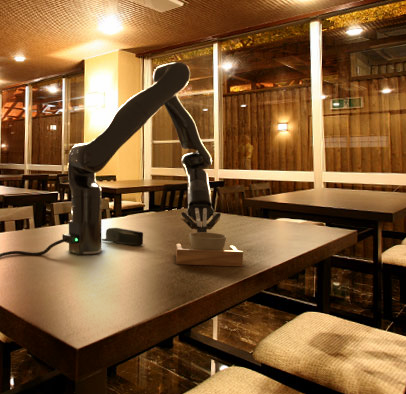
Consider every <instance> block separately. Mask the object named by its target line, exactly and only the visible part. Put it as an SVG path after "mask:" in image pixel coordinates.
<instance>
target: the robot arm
mask: <svg viewBox="0 0 406 394" xmlns="http://www.w3.org/2000/svg"><path fill="white" fill-rule="evenodd" d="M190 77H191V71H190V68H189V66H188V65H187V64H185V63H184V62H182V61H181V62H180V61H174V62H170V63H169V62H168V63H166V64H162V65H159V66H157V67H156V69H154V71H153V75H152V81H153V84H152V85H151V86H149V87H147V88H145V89H144V90H141V91H140V92H138V93H136V94H134V95H133V96H132V97H130V98H129V99H127V100H126V102H125V103H124V104H122V105H121V106H120V107H119V108H118V109H117V110H116V111H115V112H114V114H113V115H112V117H111V120H110V122H109V124H108V126H107V127H106V129H105V130H103V132H101V133H100V134H99V135H98V136H96V138H94V139H92V140H91V141H89V142H84V143H78V144H75V145H74V146H73V147H72V148H71V149H70V150H69V153H68V156H67V172H68V175H67V177H68V186H69V188H70V196H71V197H70V199H71V204H70V205H71V208H70V211H71V213H70V214H71V216H70V217H71V220H69V221H68V233H62V239H59V240H57V241H54V242H52V243H51V244H49V245H48V246H47V247H46V248H45V249H44V250H42V251H37V252H33V251H32V252H30V251H25V250H23V251H22V250H10V251H5V252H1V253H0V258H1V257H5V256H11V255H22V256H42V255H43V256H44V255H45V254H47V253H48V252H49V251H50V250H51V249H52V248H54V247H56V246H58V245H59V244H63V243H66V244H68V252H70V253H73V254H76V255H78V256H83V255H96V254H100V253H102V251H103V248H102V195H103V194H102V187H101V186H100V185H99V183H98V182H97V179H96V174H98V173H99V172H101V171H102V170H103V169H104V168H105V167H106V166H107V164H108V163H109V162H110V161H111V160H112V158H113V157H114V156H115V154H116V153H117V152H118V151H119V150H120V148H122V147H123V146H124V145H125V144H126V143H127V142H128V141H129V140H130V139H131V138H132V137H133V136H134V135H136V134H137V132H139V131H140V130H141V129H142V128H143V127H144V126H145V125H146V124H147V123H148V121H149V120H150V119H151V118H152V117H154V116H155V114H156V113H157V112H158V111H159V110H160V109H161V108H163V106H164V107H165V109H166V111H167V113H168V115H169V117H170V120H171V122H172V125H173V127H174V129H175V132H176V136H177V138H178V141H179V145H180V148H182V149H184V150H195V151H194V152H190V153H186V154H184V155H183V156H182V157H181V160H180V161H181V162H180V163H181V166H182V169H183V171H184V172H185V175H186V181H187V192H186V193H187V195H186V197H187V208H186V211H183V212H181V215H180V219H181V221H183V222H184V223H185V224H186V225H187V226H188V227H189V228H190V229H191V230H196V233H199V232H206V233H208V231H207V230H212V228H214V227H215V225H216V224H217V223H218V222H219V221H220V219H221V213H220V212H215V209H214V208H213V206H212V196H211V187H210V183H209V176H208V172H207V171H206V170H207V169H209V168H211V166H212V162H213V160H212V159H213V158H212V156H211V154H210V152H209V151H208V150H207V149H206V147H205V146H204V144H203V142H202V139H201V138H200V134H199V132H198V128H197V126H196V122H195V120H194V119H193V117H192V116H191V114H190V113H189V112H188V110H186V108H185V107H184V106H183V104H182V102H181V101H180V99H179V98H178V93H180V92H182V90H184V89H185V88H186V86H187V85H188V83H189V81H190ZM211 217H212V218H211ZM210 218H211V219H210ZM209 220H210V221H209ZM208 221H209V222H208ZM207 222H208V223H207Z"/></svg>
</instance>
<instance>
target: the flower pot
mask: <svg viewBox="0 0 406 394" xmlns="http://www.w3.org/2000/svg"><path fill="white" fill-rule="evenodd" d="M188 236H189V241H190V246H191V249H201V250H224V248H225V245H226V241H227V236H226V235H225V234H221V233H217V232H207V233H206V232H199V233H197V232H191V233H189V235H188Z"/></svg>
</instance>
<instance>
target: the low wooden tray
mask: <svg viewBox="0 0 406 394" xmlns="http://www.w3.org/2000/svg"><path fill="white" fill-rule="evenodd" d="M175 256H176V264H177V265H190V266H191V265H192V266H193V265H195V266H216V267H217V266H218V267H219V266H221V267H243V266H244V265H243V263H244V251H243V250H238V249H237V247H236V246H235V245H229V250H227V249H223V250H201V249H192V248H182V245H181V243H176V245H175Z"/></svg>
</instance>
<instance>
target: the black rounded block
mask: <svg viewBox="0 0 406 394" xmlns="http://www.w3.org/2000/svg"><path fill="white" fill-rule="evenodd" d="M101 242H108V243H109V242H110V243H116V244H122V245H127V246H133V247H134V246H135V247H137V246H138V247H139V246H142V245H143V244H144V232H143V231H139V230H132V229H127V228H120V227H109V228H106V230H105V238H101Z"/></svg>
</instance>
